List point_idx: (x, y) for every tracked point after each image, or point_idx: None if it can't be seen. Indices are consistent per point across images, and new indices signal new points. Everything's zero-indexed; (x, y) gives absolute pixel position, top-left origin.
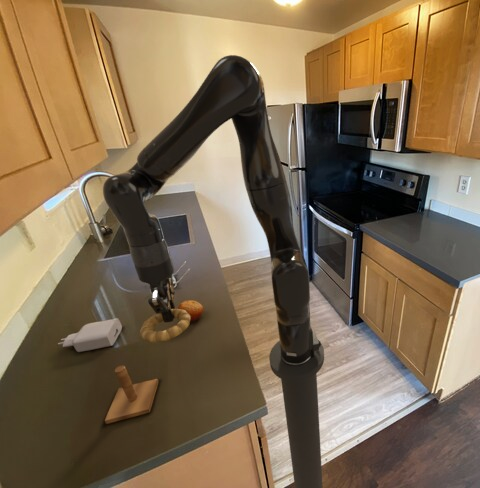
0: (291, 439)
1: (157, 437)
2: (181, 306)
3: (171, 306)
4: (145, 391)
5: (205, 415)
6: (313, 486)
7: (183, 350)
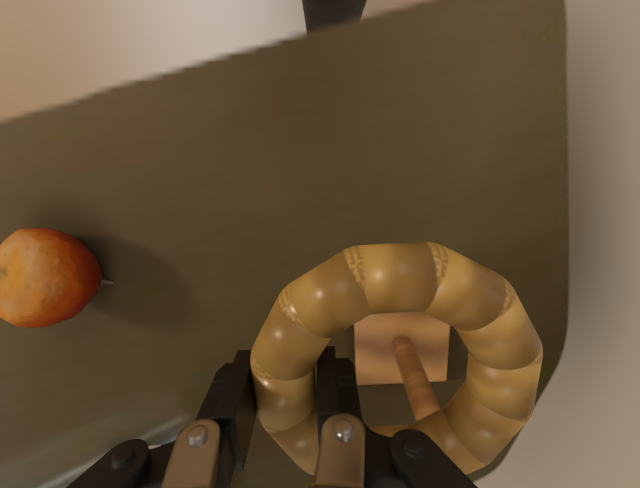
0: (352, 20)
1: (526, 259)
2: (36, 317)
3: (244, 400)
4: (391, 323)
5: (516, 150)
6: None
7: (241, 260)
